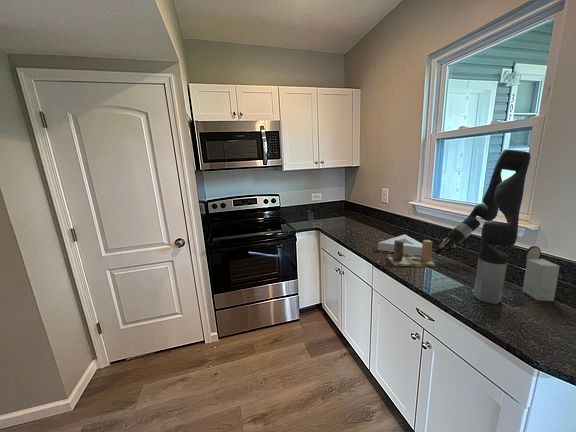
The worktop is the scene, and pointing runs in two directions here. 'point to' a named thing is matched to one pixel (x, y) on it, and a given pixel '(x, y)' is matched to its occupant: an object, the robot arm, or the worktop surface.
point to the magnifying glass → (532, 253)
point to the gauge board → (411, 261)
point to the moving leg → (426, 250)
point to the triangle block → (408, 246)
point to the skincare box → (540, 279)
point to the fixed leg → (398, 250)
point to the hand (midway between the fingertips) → (435, 253)
